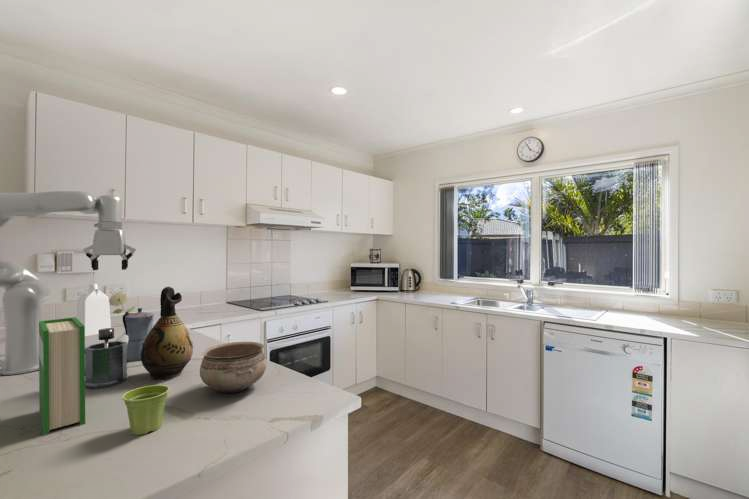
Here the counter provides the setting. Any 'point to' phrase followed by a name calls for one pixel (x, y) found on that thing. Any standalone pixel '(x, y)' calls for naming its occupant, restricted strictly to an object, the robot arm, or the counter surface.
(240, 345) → the cooking pot
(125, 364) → the carafe
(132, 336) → the moka pot
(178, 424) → the counter surface
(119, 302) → the flower in vase
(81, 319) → the milk
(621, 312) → the counter surface
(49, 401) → the hardback book
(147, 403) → the plant pot
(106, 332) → the dark grey stemmed piece
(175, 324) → the ceramic jug
